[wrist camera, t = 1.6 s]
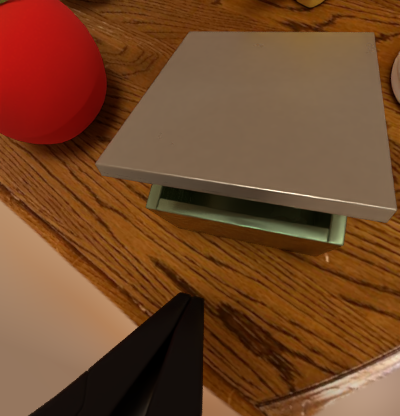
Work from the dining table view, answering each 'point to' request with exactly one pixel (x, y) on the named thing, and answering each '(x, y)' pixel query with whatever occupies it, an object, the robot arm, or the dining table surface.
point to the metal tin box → (249, 220)
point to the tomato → (47, 72)
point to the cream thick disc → (396, 78)
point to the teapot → (310, 2)
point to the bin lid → (265, 123)
